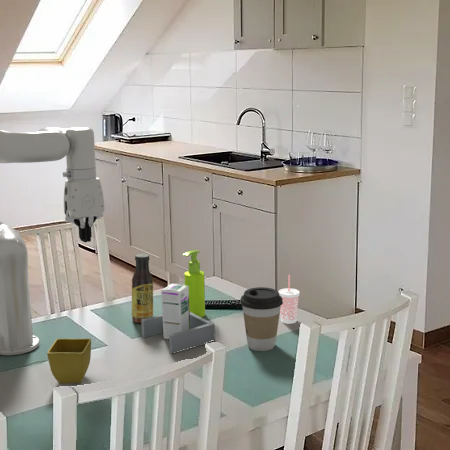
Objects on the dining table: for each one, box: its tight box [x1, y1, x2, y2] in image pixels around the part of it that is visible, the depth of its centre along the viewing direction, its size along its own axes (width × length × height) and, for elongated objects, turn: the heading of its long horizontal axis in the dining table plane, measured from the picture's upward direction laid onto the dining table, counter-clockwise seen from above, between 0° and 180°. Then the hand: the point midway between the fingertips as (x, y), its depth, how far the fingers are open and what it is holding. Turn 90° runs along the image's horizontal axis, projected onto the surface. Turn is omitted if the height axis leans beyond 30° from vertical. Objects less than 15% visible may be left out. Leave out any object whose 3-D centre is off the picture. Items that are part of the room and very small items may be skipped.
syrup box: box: [160, 283, 190, 340], centre depth 200 cm, size 6×6×14 cm
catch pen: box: [140, 312, 216, 354], centre depth 200 cm, size 14×15×5 cm
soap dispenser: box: [182, 249, 206, 318], centre depth 215 cm, size 6×7×20 cm
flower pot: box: [46, 338, 92, 385], centre depth 175 cm, size 9×9×9 cm
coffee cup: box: [239, 286, 283, 352], centre depth 193 cm, size 11×11×15 cm
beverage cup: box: [277, 274, 300, 325], centre depth 211 cm, size 6×6×14 cm
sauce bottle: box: [131, 253, 154, 324], centre depth 212 cm, size 6×6×20 cm
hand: (85, 240), depth 198 cm, fingers closed
